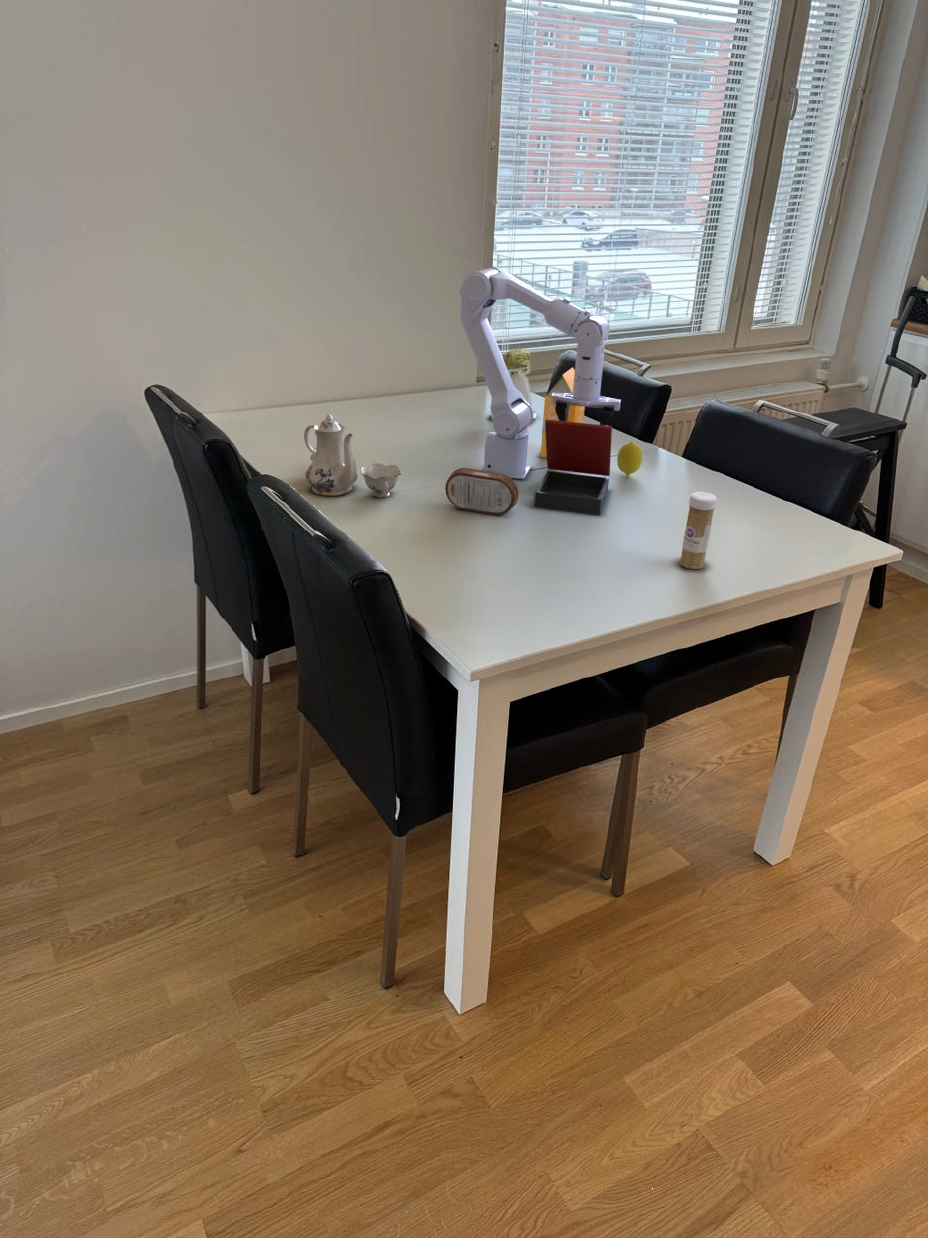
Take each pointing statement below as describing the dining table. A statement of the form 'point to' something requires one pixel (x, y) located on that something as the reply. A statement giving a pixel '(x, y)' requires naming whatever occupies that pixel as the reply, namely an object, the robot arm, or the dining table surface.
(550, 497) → the dark grey open tray
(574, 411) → the orange juice
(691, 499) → the sprinkles bottle
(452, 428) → the dining table surface
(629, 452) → the lemon
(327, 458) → the chinaware
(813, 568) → the dining table surface
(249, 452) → the dining table surface
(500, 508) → the tin
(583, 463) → the lid
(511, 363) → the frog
